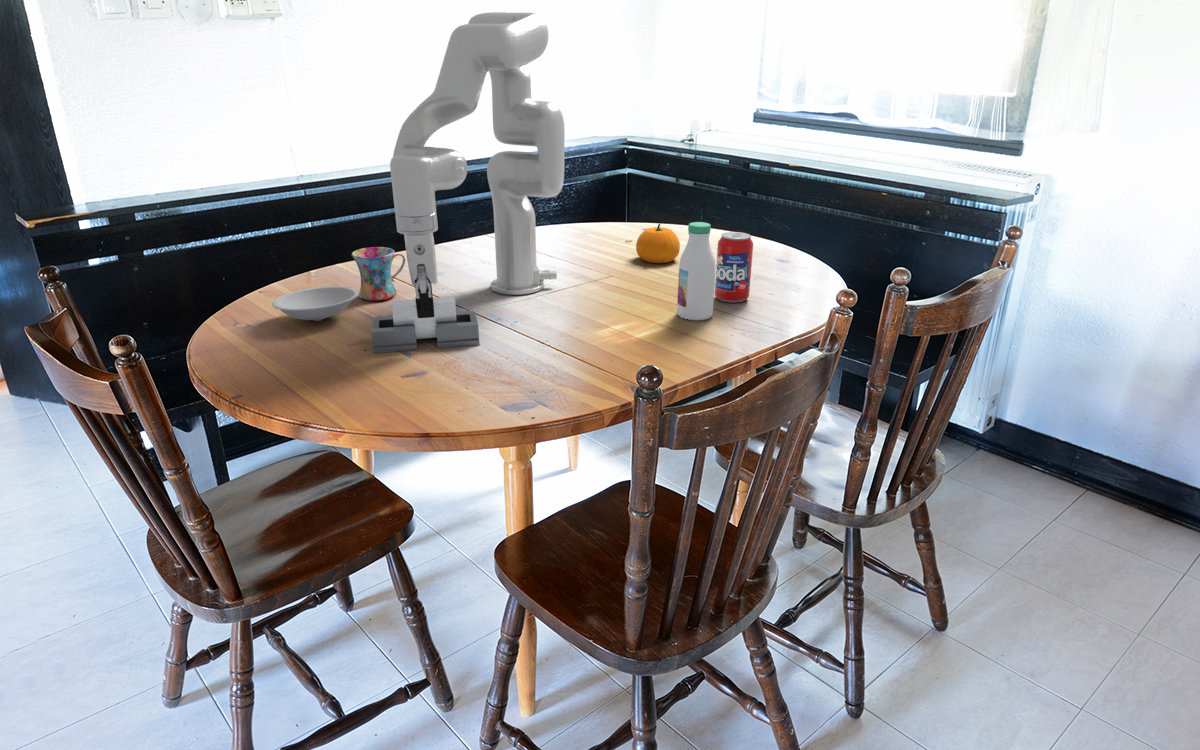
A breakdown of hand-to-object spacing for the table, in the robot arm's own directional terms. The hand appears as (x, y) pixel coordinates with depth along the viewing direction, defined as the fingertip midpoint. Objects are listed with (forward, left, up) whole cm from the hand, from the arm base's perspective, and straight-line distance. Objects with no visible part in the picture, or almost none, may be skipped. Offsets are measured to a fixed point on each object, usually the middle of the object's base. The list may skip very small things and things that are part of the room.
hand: (425, 308), depth 155 cm
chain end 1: (+6, 0, -6) cm, 9 cm away
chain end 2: (-6, 0, -6) cm, 9 cm away
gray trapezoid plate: (0, 0, -5) cm, 5 cm away
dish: (+22, -17, -7) cm, 29 cm away
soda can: (-69, -12, -7) cm, 70 cm away
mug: (+9, -31, -7) cm, 33 cm away
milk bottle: (-57, -3, -7) cm, 57 cm away
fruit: (-62, -48, -7) cm, 78 cm away
